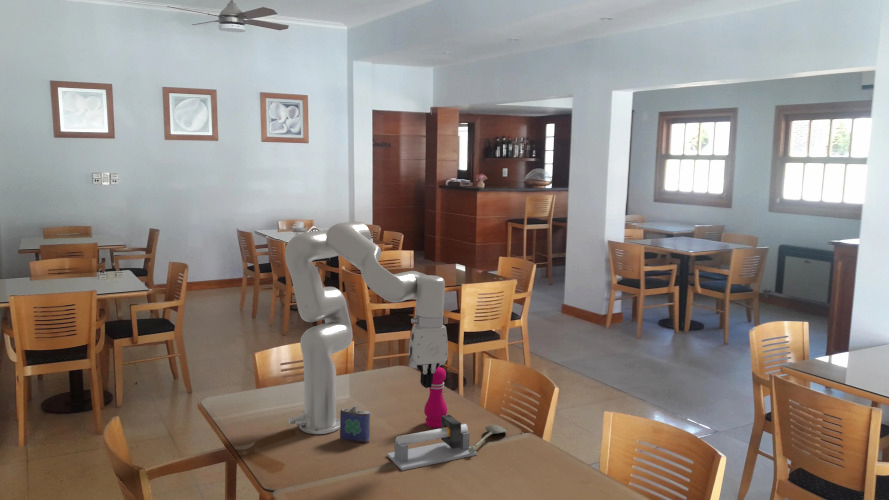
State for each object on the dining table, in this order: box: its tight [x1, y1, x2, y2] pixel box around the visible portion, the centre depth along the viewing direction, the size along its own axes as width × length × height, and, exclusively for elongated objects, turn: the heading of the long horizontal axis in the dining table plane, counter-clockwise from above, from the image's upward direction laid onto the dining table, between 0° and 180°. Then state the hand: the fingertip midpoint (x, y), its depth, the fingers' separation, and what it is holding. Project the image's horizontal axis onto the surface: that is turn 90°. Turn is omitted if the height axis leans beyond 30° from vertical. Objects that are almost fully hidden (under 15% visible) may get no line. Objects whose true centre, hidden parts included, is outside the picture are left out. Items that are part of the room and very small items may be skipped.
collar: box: [440, 414, 462, 449], centre depth 190 cm, size 2×7×7 cm, turn 27°
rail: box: [386, 423, 478, 471], centre depth 187 cm, size 23×10×7 cm, turn 117°
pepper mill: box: [423, 366, 448, 429], centre depth 209 cm, size 7×7×20 cm
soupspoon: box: [468, 424, 508, 453], centre depth 197 cm, size 22×3×7 cm
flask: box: [339, 404, 371, 444], centre depth 197 cm, size 9×3×11 cm, turn 74°
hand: (426, 386), depth 185 cm, fingers closed
